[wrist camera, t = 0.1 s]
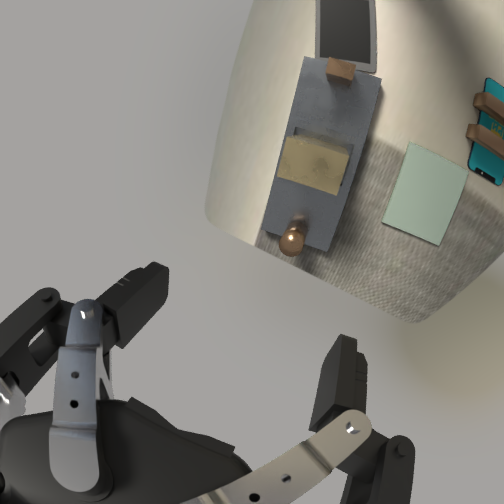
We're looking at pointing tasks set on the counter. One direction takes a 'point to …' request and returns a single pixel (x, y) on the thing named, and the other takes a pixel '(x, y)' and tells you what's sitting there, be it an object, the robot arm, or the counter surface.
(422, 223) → the pad
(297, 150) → the brushed brass block
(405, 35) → the counter surface
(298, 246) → the grey slotted base
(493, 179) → the smartphone
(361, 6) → the smartphone
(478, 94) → the phone stand
